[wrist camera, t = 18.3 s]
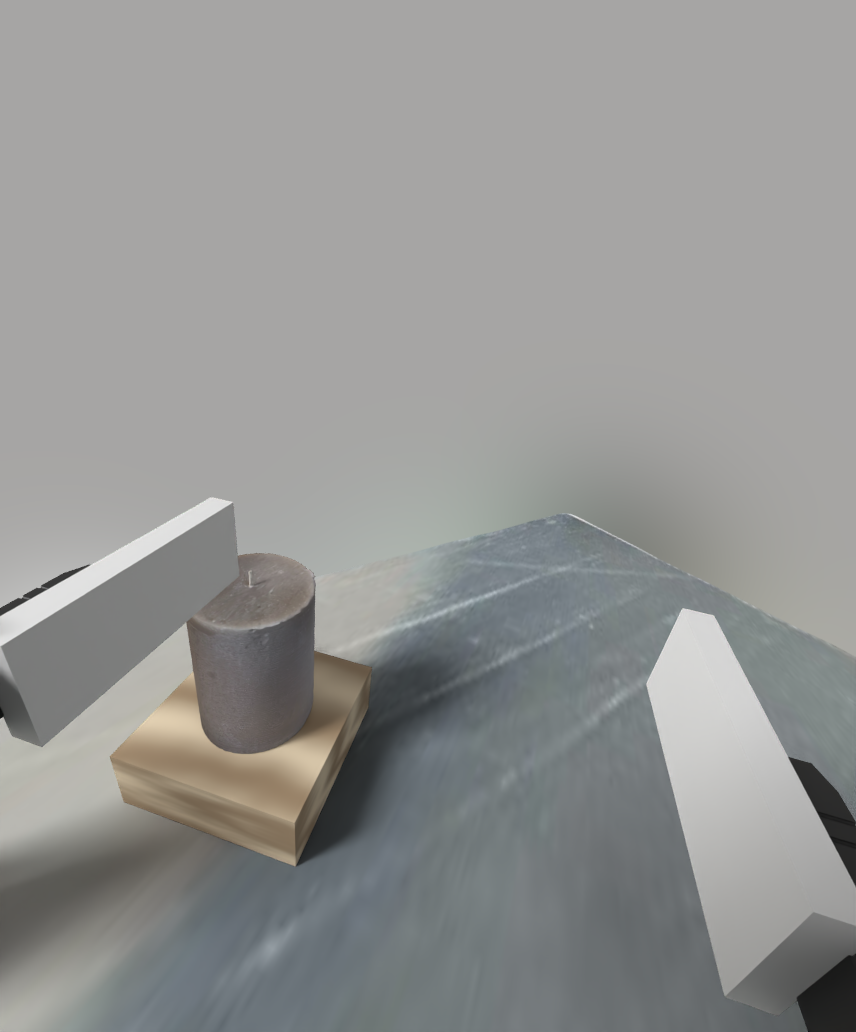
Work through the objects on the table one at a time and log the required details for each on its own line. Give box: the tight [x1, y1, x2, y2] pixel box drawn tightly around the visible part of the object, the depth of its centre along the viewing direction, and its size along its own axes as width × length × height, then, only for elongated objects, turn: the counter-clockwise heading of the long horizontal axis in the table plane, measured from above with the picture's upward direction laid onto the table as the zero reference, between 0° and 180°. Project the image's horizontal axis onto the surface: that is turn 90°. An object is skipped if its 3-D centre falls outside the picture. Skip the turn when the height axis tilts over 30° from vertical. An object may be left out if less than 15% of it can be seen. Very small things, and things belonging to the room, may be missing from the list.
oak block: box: [110, 651, 372, 867], centre depth 42 cm, size 16×16×6 cm
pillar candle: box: [186, 553, 316, 754], centre depth 38 cm, size 10×10×15 cm
